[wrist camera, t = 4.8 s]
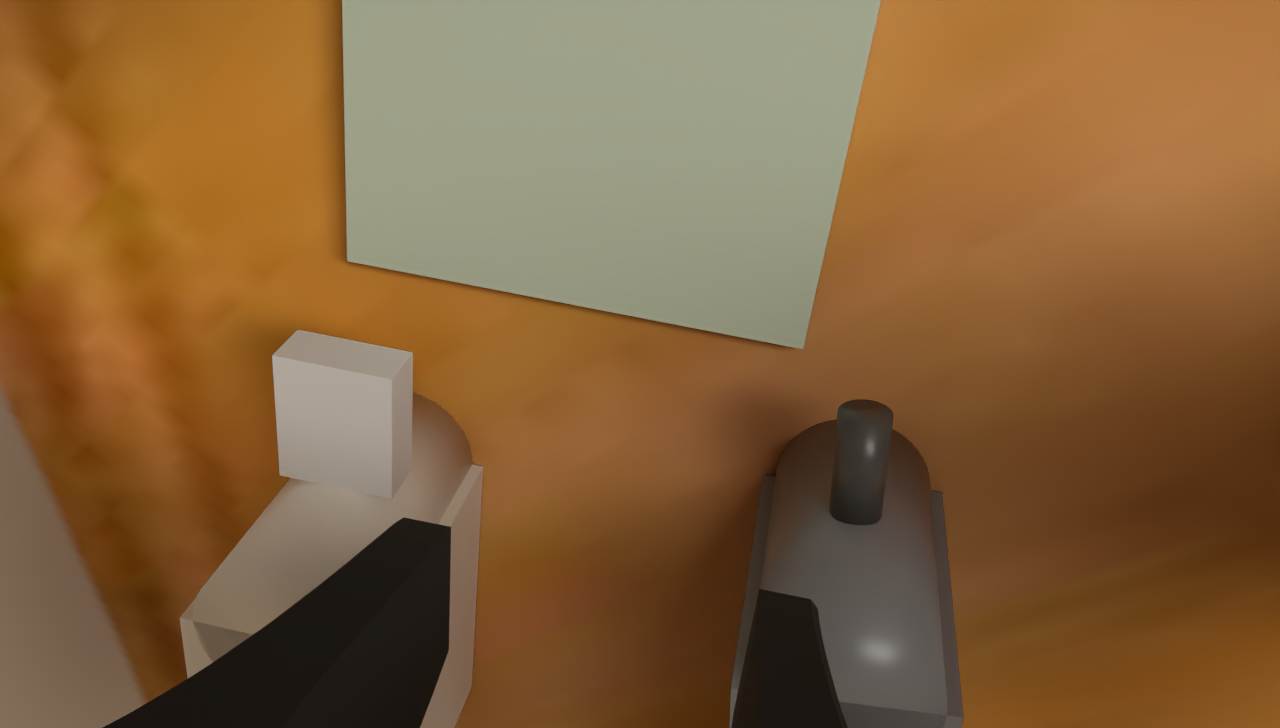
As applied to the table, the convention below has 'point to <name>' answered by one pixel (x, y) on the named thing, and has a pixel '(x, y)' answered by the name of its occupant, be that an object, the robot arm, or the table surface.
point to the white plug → (348, 500)
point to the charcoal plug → (862, 568)
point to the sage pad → (606, 150)
